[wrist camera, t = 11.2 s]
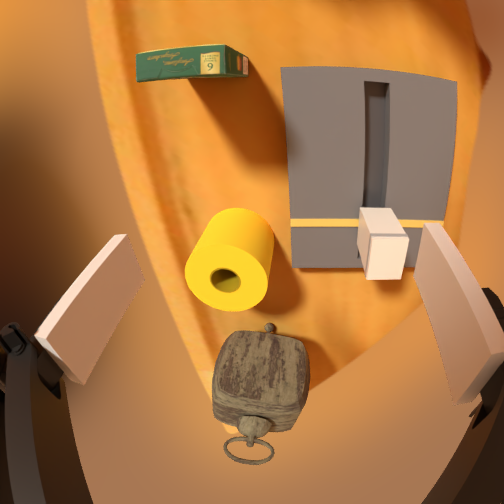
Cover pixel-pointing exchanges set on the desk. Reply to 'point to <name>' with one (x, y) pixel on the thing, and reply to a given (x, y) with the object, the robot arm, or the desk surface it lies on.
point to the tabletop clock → (259, 385)
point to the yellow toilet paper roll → (232, 260)
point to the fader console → (364, 156)
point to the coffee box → (191, 63)
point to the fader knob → (381, 243)
